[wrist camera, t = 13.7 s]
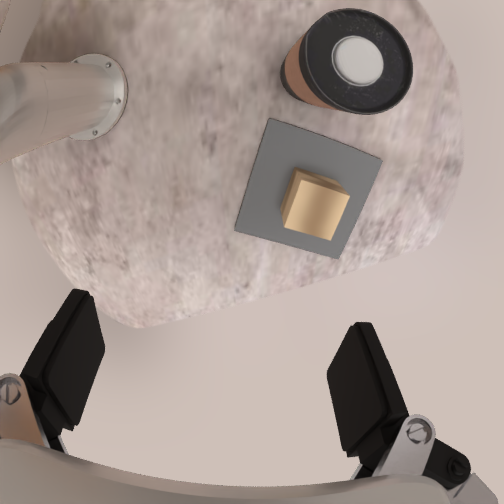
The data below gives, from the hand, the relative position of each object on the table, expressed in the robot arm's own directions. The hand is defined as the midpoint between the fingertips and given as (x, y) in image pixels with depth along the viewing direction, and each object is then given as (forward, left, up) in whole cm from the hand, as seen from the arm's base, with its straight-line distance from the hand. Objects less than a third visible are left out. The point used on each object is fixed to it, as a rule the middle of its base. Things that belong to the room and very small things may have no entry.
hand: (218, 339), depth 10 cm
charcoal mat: (+9, -3, -31) cm, 33 cm away
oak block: (+9, -3, -30) cm, 32 cm away
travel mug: (+4, +12, -32) cm, 34 cm away
